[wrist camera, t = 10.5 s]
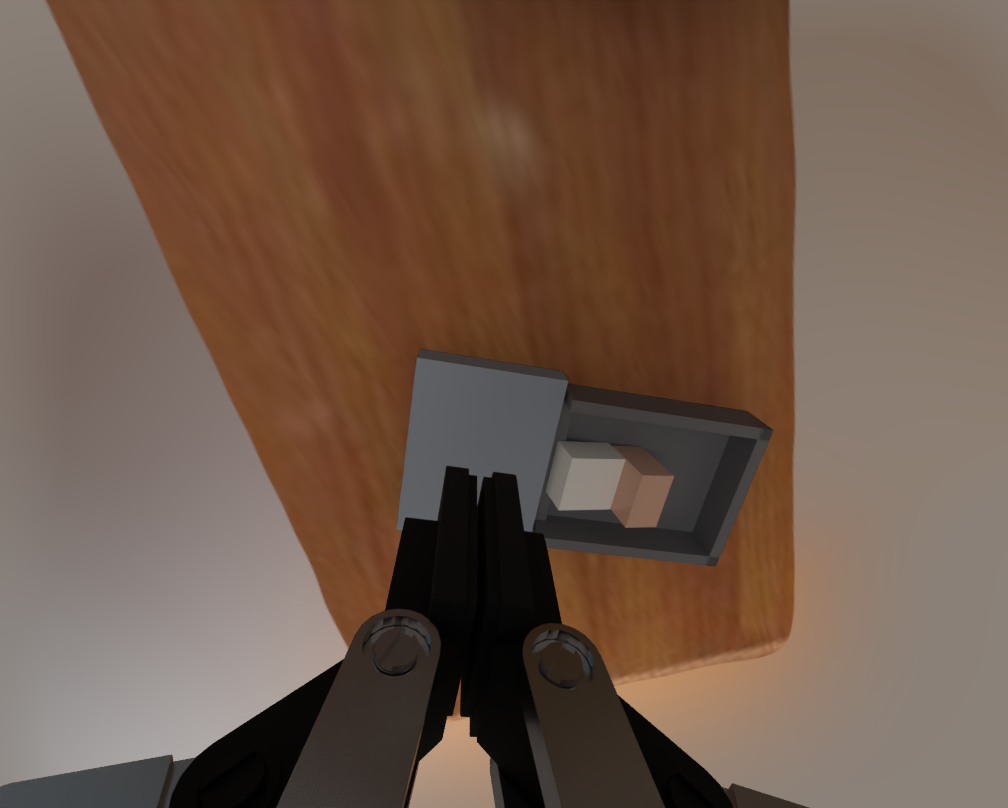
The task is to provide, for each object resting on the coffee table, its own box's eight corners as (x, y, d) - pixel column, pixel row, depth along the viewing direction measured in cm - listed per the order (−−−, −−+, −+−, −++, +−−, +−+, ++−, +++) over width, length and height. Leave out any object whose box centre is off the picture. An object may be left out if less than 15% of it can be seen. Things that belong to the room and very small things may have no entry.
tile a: (557, 441, 41) (572, 458, 38) (608, 442, 42) (625, 459, 40) (545, 490, 42) (558, 510, 40) (594, 490, 44) (610, 509, 41)
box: (563, 383, 40) (572, 399, 37) (747, 411, 42) (773, 430, 39) (531, 519, 45) (536, 546, 42) (696, 538, 47) (715, 566, 44)
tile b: (642, 475, 37) (674, 475, 38) (612, 445, 42) (641, 446, 43) (625, 527, 39) (656, 527, 40) (598, 493, 43) (626, 493, 44)
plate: (420, 348, 39) (416, 357, 36) (562, 371, 40) (568, 380, 38) (400, 513, 44) (396, 529, 42) (526, 527, 46) (528, 544, 43)
